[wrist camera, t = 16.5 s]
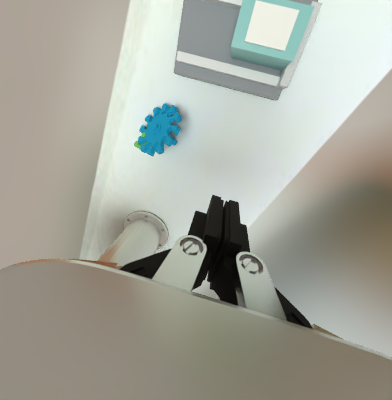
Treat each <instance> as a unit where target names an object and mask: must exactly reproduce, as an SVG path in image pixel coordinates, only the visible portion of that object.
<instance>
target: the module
mask: <svg viewBox="0 0 392 400" xmlns="http://www.w3.org/2000/svg"><path fill="white" fill-rule="evenodd" d="M314 7H315V6H311V5H306V4H302V3H298V2H293V1H289V0H242V4H241V8H240V12H239V16H238V20H237V24H236V28H235V32H234V36H233V40H232V44H231V58H233V59H237V60H241V61H245V62H249V63H253V64H257V65H261V66H265V67H269V68H273V69H277V70H282V69H283V68H285V67H286V66H288V65H289V64H290V63H292V62H293V60H294V58H295V55H296V53H297V50H298V48H299V45H300V42H301V40H302V37H303V35H304V32H305V30H306V27H307V25H308V22H309V20H310V17H311V15H312V12H313V10H314Z"/></svg>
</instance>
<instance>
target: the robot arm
mask: <svg viewBox="0 0 392 400" xmlns="http://www.w3.org/2000/svg"><path fill="white" fill-rule="evenodd" d="M223 202H224V200H221V197H218V196H215V195H212V198H211V201H210V205H209V208H208V211H207V214H206V213H202V212H199V211H196V212H195V215H194V218H193V221H192V224H191V227H190V230H189V233H188V235H185V236H182V237H180V238H179V239H178V240H177V242H176V243H175V245H174V246H173V248H172V249H169V250H166V251H163V252H160V253H157V254H154V252H155V250H156V249H159V248H161V247H162V246H164V244H165V243H166V241H167V239H168V231H167V228H166V226H165V224H164V223H163V222H162V221H161V220H160V219H159V218H158V217H157V216H155V215H153V214H151V213H148V212H143V211H139V212H134V213H132V214H130V215H129V216H128V217H127V218H126V219H125V221H124V224H123V229H124V231H123V232H122V233H121V234H120V235H119V236H118V237H117V239H116V240H115V241H114V242H113V243H112V244H111V246H110V247H109V248H108V249H107V250H106V251H105V253H104V254H103V255H102V256H101V257H100V258H99V260H98V261H90V260H79V259H41V260H31V261H25V262H21V263H17V264H13V265H10V266H8V267H6V268H3V269H1V270H0V400H392V358H391V357H389V356H387V355H385V354H383V353H380V352H377V351H374V350H372V349H369V348H366V347H364V346H361V345H358V344H355V343H352V342H349V341H346V340H344V339H342V338H340V337H338V336H336V335H334V334H332V333H330V332H328V331H327V330H325V329H323V328H321V327H319V326H317V325H315V324H313V325H312V326H311V325H310V323H309V321H308V320H307V319H306V318H305V317H304V316H303V315H302V314H301V313H300V312H299V311H298V310H297V309H296V308H295V307H294V306H293V305H292V304H291V303H290V302H289V301H288V300H287V299H286V298H285V297H284V296H283V295H282V294H281V293H280V292H279V291H278V290H277V289H276V288H275V287H274V286H273V283H272V280H271V278H270V275H269V273H268V270H267V268H266V266H265V264H264V262H263V261H262V260H261V259H260V258H259V257H258V256H256V255H254V254H252V253H250V248H249V241H248V234H247V227H246V225H243V224H240V214H239V203H238V202H235V201H232V200H229V202H227V201H226V202H225V204H224V207H223ZM153 254H154V255H153ZM207 273H208V278H207V281H208V282H210V289H212V290H214V291H215V292H216V293H217V298H216V299H214V298H211V297H208V296H205V295H201V294H198V293H195V292H192V290H193V289H195V288H197V287H199V286H201V284H202V282H203V280H205V278H206V276H207Z"/></svg>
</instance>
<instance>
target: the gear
mask: <svg viewBox="0 0 392 400" xmlns="http://www.w3.org/2000/svg"><path fill="white" fill-rule="evenodd" d="M177 112H178V110H177V108H176V107H175V106H174V105H172V106H171V107H169V106H168V105H167V104H163V106H162V110H161V109H159V108H158V107H156V108H154V110H153V113H154V115H153V118H152V117H151V116H150V115H148V116H147V117H146V118H145V121H146V122H147V123H148V127H147V128H146V127H145V126H143V125H142V126H141V128H140V130H139V131H140V132H141V133H142V136H140V137H139V138H138V142H137V141H136V142H135V143H134V146H135V147H137V148H139V149H141V151H142V152H144V153H147V154H149V155H151V156H153V155H154V153H155V151H156V152H157V153H159V154H162V153H164V142H165V144H166V145H168V146H171V145H172V144H173V145H176V143H177V141H176V140H175V139H174V138H172V137H171V136H170V132H171V131H172V132H173V133H174V134H176V135H177V134H178V133H179V131H180V128H179V127H178V126H177V125H172V123H173V122H174V121H176V122H177V123H179V122H180V121H181V115H180V114H179V113H177ZM173 114H175V115H173ZM171 115H173V116H171ZM170 116H171V117H170Z"/></svg>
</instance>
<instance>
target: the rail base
mask: <svg viewBox="0 0 392 400" xmlns="http://www.w3.org/2000/svg"><path fill="white" fill-rule="evenodd" d="M289 1H293V2H298V3H302V4H306V5H311V6H315V7H314V10H313V12H312V15H311V17H310V20H309V22H308V25H307V27H306V30H305V32H304V35H303V37H302V40H301V42H300V45H299V48H298V50H297V53H296V55H295V58H294V60H293V62H292V63H290V64H289V65H288V66H286V67H285V68H283V69H282V70H277V69H273V68H269V67H265V66H261V65H257V64H253V63H249V62H245V61H241V60H237V59H233V58H231V44H232V40H233V36H234V32H235V28H236V24H237V20H238V16H239V12H240V8H241V4H242V0H184V2H183V9H182V16H181V24H180V31H179V38H178V45H177V53H176V60H175V67H174V73H175V74H177V75H181V76H185V77H189V78H193V79H196V80H200V81H204V82H208V83H212V84H215V85H219V86H223V87H227V88H231V89H234V90H238V91H242V92H246V93H250V94H253V95H257V96H261V97H265V98H268V99H272V100H278V98H279V96H280V93H281V91H282V89H284V88H286V87H288V85H289V83H290V80H291V78H292V75H293V73H294V70H295V68H296V66H297V63H298V61H299V58H300V56H301V54H302V51H303V49H304V46H305V44H306V42H307V39H308V37H309V34H310V32H311V29H312V27H313V25H314V22H315V20H316V17H317V15H318V13H319V10H320V8H321V5H322V3H318V0H289Z"/></svg>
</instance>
